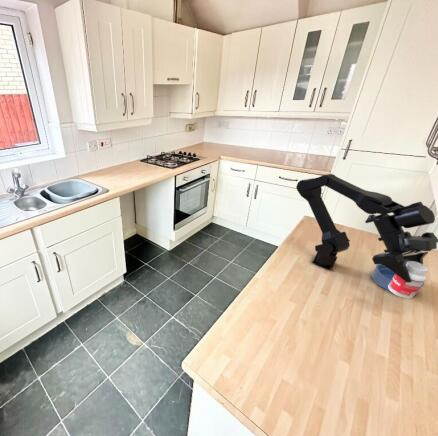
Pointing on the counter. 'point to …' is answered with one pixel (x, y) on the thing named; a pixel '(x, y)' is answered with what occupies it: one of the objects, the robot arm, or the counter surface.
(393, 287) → the pill bottle
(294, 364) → the counter surface
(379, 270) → the bowl
